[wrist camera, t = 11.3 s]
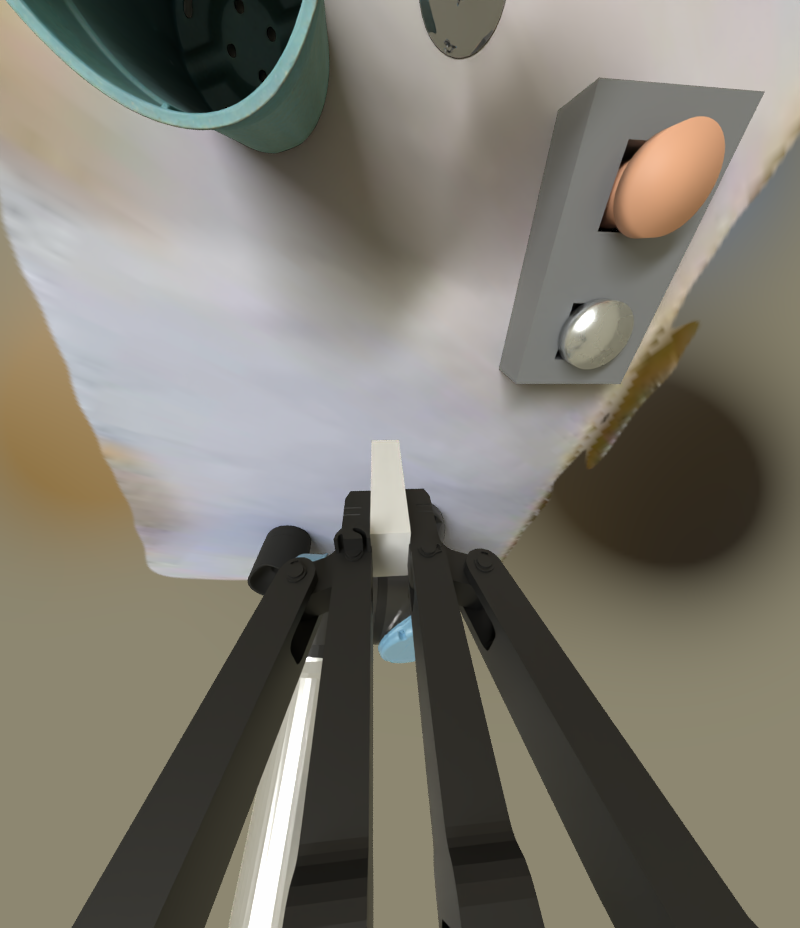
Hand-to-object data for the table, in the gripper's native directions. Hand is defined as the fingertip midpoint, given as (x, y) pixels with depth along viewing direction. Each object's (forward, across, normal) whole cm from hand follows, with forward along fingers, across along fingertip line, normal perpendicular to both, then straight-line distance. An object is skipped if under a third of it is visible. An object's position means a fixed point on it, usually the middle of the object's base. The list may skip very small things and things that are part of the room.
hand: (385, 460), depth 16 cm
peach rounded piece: (+24, -24, -15) cm, 37 cm away
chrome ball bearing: (+25, -24, -3) cm, 35 cm away
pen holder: (+27, +19, +38) cm, 50 cm away
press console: (+26, -24, -9) cm, 37 cm away
